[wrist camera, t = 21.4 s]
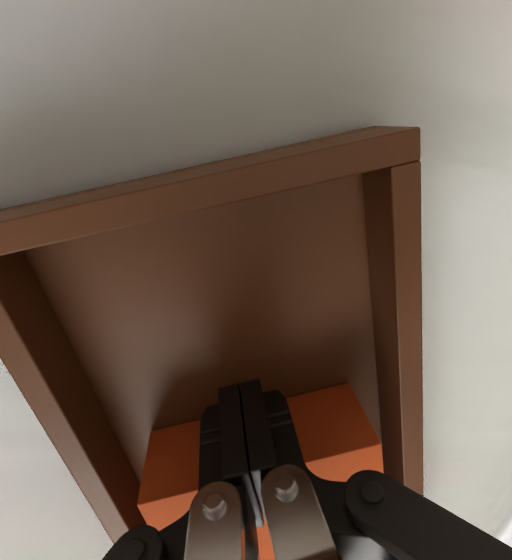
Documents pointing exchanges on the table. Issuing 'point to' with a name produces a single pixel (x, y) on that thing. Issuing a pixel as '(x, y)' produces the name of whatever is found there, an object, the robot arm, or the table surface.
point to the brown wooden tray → (218, 301)
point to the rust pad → (312, 439)
